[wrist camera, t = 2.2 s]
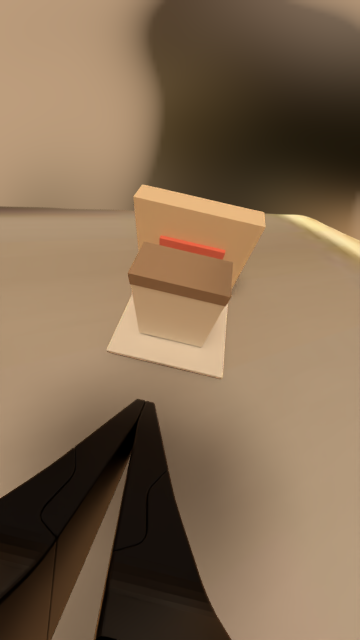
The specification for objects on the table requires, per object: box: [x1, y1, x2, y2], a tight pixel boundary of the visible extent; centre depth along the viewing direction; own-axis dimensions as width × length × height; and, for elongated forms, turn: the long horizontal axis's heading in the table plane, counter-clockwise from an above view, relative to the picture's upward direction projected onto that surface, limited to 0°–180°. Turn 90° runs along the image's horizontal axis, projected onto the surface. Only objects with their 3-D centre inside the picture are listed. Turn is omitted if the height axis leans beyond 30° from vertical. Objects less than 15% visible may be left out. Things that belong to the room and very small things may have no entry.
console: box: [107, 185, 265, 379], centre depth 21 cm, size 16×14×12 cm
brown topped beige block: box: [128, 242, 233, 347], centre depth 19 cm, size 4×8×10 cm, turn 78°
